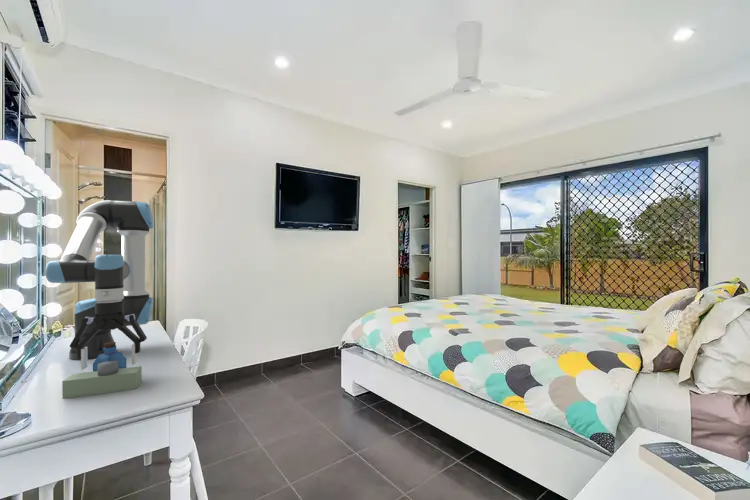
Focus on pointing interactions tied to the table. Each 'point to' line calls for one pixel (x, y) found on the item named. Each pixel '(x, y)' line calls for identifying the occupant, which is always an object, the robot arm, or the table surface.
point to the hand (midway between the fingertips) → (110, 365)
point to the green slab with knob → (102, 380)
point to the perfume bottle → (110, 356)
